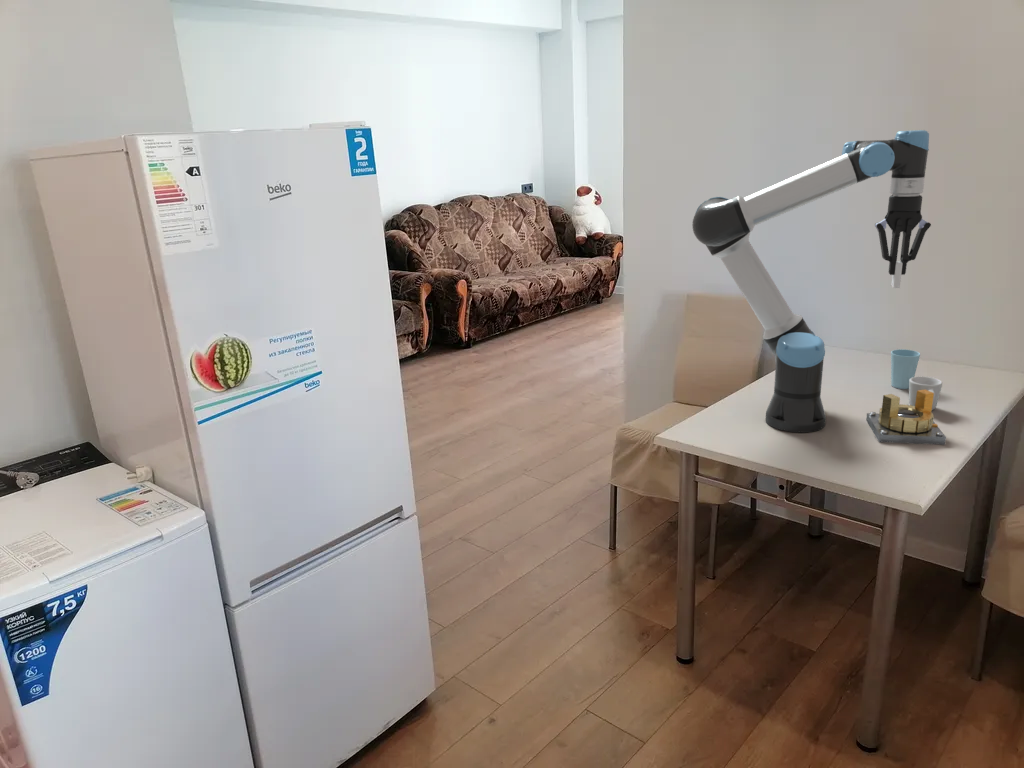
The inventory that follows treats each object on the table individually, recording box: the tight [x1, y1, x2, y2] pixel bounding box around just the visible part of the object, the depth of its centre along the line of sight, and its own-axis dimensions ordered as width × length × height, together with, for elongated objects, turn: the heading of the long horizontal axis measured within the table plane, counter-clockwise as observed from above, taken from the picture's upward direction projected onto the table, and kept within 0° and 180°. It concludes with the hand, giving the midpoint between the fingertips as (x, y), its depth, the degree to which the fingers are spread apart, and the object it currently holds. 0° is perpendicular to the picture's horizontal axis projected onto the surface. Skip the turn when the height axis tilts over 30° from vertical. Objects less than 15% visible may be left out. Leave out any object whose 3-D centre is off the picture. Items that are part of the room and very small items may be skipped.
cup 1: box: [890, 348, 921, 390], centre depth 225 cm, size 8×8×10 cm
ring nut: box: [878, 390, 935, 433], centre depth 193 cm, size 12×12×8 cm
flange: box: [865, 410, 947, 446], centre depth 194 cm, size 15×15×5 cm
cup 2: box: [908, 375, 943, 411], centre depth 207 cm, size 11×8×8 cm
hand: (895, 286), depth 199 cm, fingers closed
